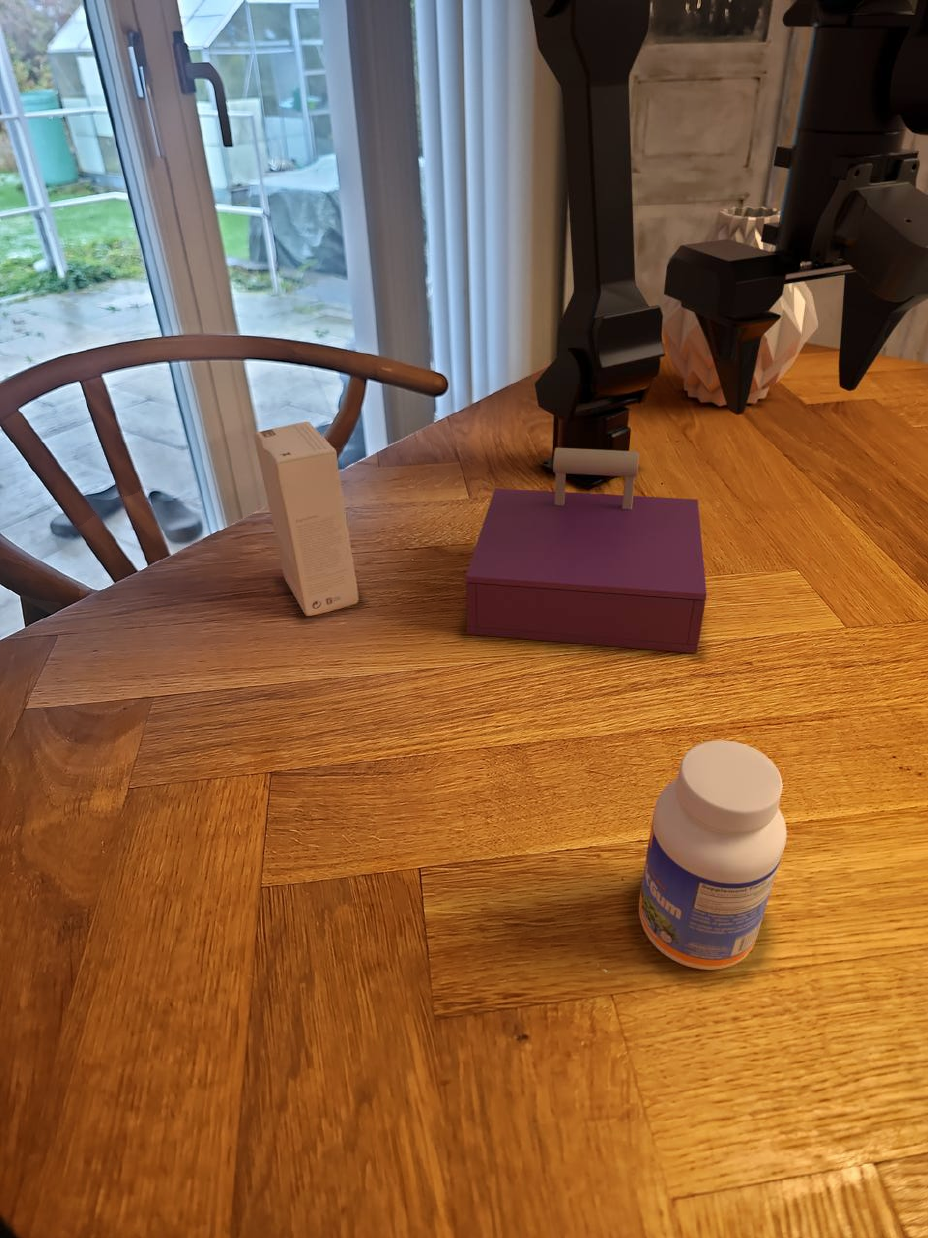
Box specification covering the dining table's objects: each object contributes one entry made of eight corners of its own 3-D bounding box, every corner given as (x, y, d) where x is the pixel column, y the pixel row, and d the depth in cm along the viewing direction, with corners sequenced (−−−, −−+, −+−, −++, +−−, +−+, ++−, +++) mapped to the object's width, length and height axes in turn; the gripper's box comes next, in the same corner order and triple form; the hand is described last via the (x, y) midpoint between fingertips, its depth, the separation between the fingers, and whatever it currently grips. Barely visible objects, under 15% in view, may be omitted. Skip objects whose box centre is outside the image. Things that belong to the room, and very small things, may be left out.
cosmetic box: (361, 603, 62) (343, 448, 55) (302, 620, 60) (275, 463, 53) (334, 565, 66) (314, 417, 59) (278, 579, 65) (251, 430, 58)
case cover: (495, 493, 66) (494, 434, 64) (697, 505, 64) (706, 444, 61) (465, 582, 56) (463, 516, 53) (705, 600, 53) (716, 532, 51)
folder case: (494, 544, 68) (493, 497, 66) (690, 557, 66) (697, 509, 63) (467, 634, 58) (465, 583, 56) (696, 654, 56) (705, 601, 53)
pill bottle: (625, 878, 41) (644, 731, 36) (733, 869, 42) (769, 721, 36) (655, 981, 37) (682, 831, 31) (776, 969, 37) (824, 818, 32)
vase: (632, 374, 100) (647, 201, 89) (766, 365, 101) (797, 193, 90) (675, 427, 87) (699, 232, 76) (829, 416, 88) (873, 222, 77)
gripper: (821, 159, 38) (758, 478, 47) (1107, 129, 43) (1001, 418, 53) (675, 134, 46) (645, 409, 55) (931, 112, 52) (866, 364, 61)
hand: (792, 400), depth 56 cm, fingers open, 9 cm apart
